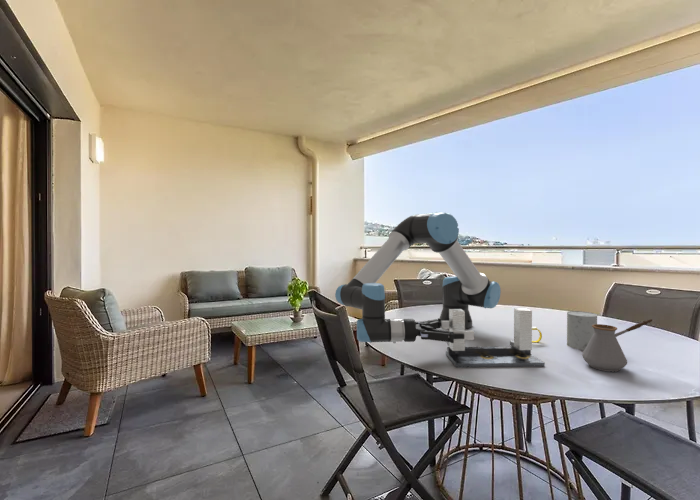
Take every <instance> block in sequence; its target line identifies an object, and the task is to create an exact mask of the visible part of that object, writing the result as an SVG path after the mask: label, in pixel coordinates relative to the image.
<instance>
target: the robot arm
mask: <svg viewBox="0 0 700 500" xmlns="http://www.w3.org/2000/svg"><path fill="white" fill-rule="evenodd" d="M459 229H460V228H459V223H458V221H457V219H456V218H455V217H454V216H453V215H452V214H451V213H448V212H441V211H436V212H431V213H421V214H420V213H417V214H413V215H410V216H408V217H406V218H405V219H404V220H402V221H401V222H400V223H398V224H397V225H396V226H395V227H394V228H393V229H392V230H391V231H390V232H389V234H388V238H387V239H386V241H385V242H384V243H383V244H382V245H381V246H380V248H379V249H378V250H377V251H376V252H375V253H374V254H373V256H371V258H369V260H368V261H367V262H366V263H365V264H364V265H363V266H362V268H361V269H360V270H359V271H358V273H356V275H354V277H353V278H352V279H351V280H350V281H349V282H348V283H346V284H340V285H338V287H337V288H336V290H335V293H334V296H335V300H336V302H338V303H339V304H340V305H343V306H345V307H351V308H355V309H358V310H361V313H362V315H361V316H362V318H360V319H357V320H356V339H357V341H358V342H359V343H360V342H362V343H393V344H396V343H400V342H401V343H402V342H403V341H404V342H406V343H411V342H412V343H413V342H416V339H417V337H420V339H421V340H423V341H425V340H428V341H429V340H430V341H438V342H445V343H447V342H451V343H454V340H465V341H473V340H474V341H475V330H465V331H453V332H449V309H462V310H463V311H465V329H469V328H473V319H472V316H471V313H470V310H469V306H471V307H477V308H478V307H479V308H483V309H494V308H495V307H497V305H498V304H499V302H500V298H501V292H502V291H501V285H500V284H499V282H497V281H494V280H493V281H491V280H490V279H489V278H488V277H487V275H486V274H485V273H483V272H480V271H479V269H477V267H476V266H475V264H474V263H473V261H472V260H471V258H470V257H469V255H468V254H467V253H466V251H465V249H464V248H463V247H462V245H461V244H460V242H459V241H458V239H459V233H460V230H459ZM416 244H426V245H427V246H428V248H430V249H431V251H433V252H434V253H438V254H439V256H440V257H442V259H443V260H444V262H445V263H446V264H447V266H448V268H450V270H451V271H452V272H453V274H454V275H455V276H448V277H447V276H445V277H444V278H443V280H442V285H441V287H442V310H441V312H440V315H439V318H435V319H429V320H422V321H420V320H419V321H415V319H414V318H403V319H402V318H386V294H385V293H386V290H385V286H384V284H383V283H380V282H378V281H379V280H380V279H381V278H382V276H383V275H384V274H385V272H387V270H388V269H389V268H390V267H391V266H392V265H393V263H394V262H395V261H396V260H397V258H398V257H399V256H400V255H401V254H402V253H403V252H404V251H407V250H408V249H409V248H410V247H411V246H413V245H416ZM447 329H448V330H447Z"/></svg>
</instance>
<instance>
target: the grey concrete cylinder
mask: <svg viewBox="0 0 700 500" xmlns="http://www.w3.org/2000/svg"><path fill="white" fill-rule="evenodd" d="M594 324H598V314H597V313H593V312H589V311H582V310H581V311H579V310H578V311H577V310H575V311H574V310H571V311H570V310H569V311H567V312H566V346H567V347H569V348H571V349H576V350H581V351H584V350H585V348H586V347H587V345H588V343H589V341H590V339H591V338H592V336H593V334H594V332H595V331H594V328H593V327H592V325H594Z"/></svg>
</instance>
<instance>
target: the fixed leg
mask: <svg viewBox="0 0 700 500" xmlns="http://www.w3.org/2000/svg"><path fill="white" fill-rule="evenodd" d="M532 327H533V310H531V309H529V308H526V307H524V308H523V307H521V308H520V307H519V308H518V307H517V308H513V340H509V346H512V347H514V348H515V349H517V350H521V355H525V350H531V351H532V350H533V349H532V348H533V343H532V341H533V333H532V332H533V330H532Z"/></svg>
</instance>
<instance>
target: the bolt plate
mask: <svg viewBox="0 0 700 500" xmlns="http://www.w3.org/2000/svg"><path fill="white" fill-rule="evenodd" d="M446 349H447V350H446V351H445V355H446V357H447V358H448V359H449V360H450V361H451V363H452V364H453V365H454V366H455V367H456V368H509V367H510V368H512V367H515V368H520V367H521V368H523V367H526V368H527V367H530V368H531V367H545V366H546V365H545V362H544V361H543V360H541V359H539V357H537V356H535V355H533V354H531V353H532V350H525V355H521V350H517V349H515V348H514V347H512V346H511V345H509V346H508V345H507V346H465V351H459V356H455V351H452V350H451V348H450V347H449V346H447V347H446Z"/></svg>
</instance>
